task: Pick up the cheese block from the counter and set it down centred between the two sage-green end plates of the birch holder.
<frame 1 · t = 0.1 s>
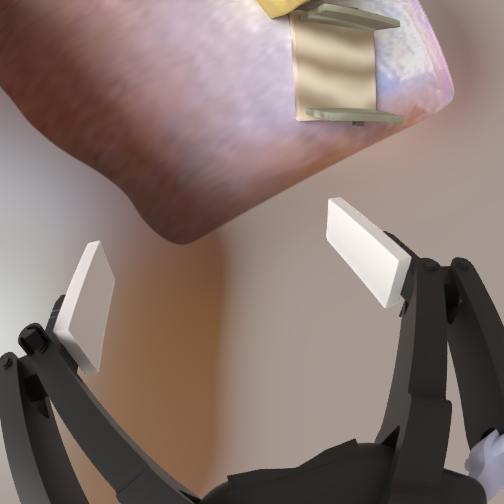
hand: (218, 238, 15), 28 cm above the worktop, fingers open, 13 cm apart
holder: (334, 66, 36), on the worktop
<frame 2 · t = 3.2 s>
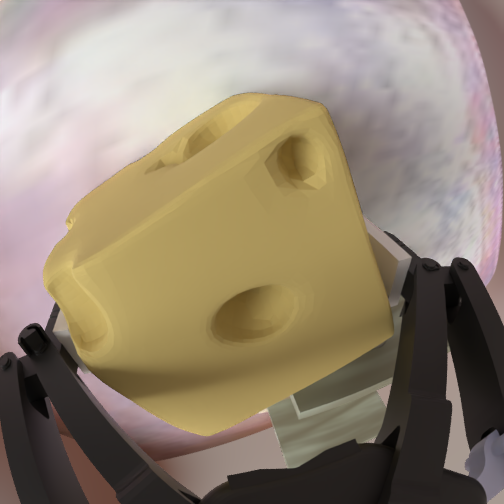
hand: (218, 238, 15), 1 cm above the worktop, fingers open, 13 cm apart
holder: (321, 341, 26), on the worktop
cheese: (206, 209, 16), on the worktop, touching gripper
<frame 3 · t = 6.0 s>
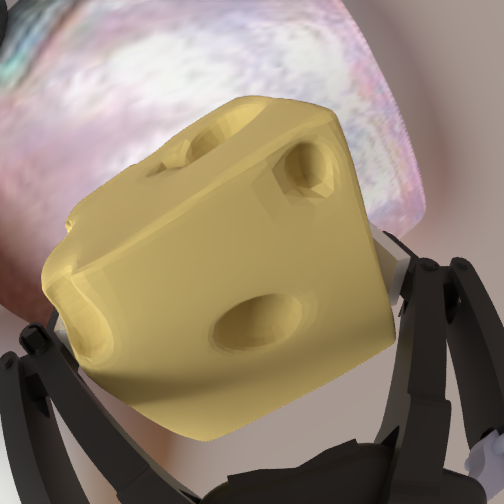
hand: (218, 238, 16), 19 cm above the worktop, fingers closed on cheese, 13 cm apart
cheese: (207, 212, 16), point 18 cm above the worktop, touching gripper
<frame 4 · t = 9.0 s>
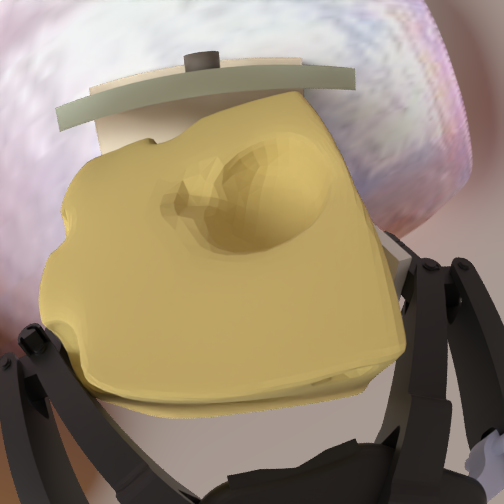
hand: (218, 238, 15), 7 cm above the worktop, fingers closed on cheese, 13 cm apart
holder: (209, 184, 21), on the worktop
cheese: (223, 196, 14), point 7 cm above the worktop, touching gripper, holder
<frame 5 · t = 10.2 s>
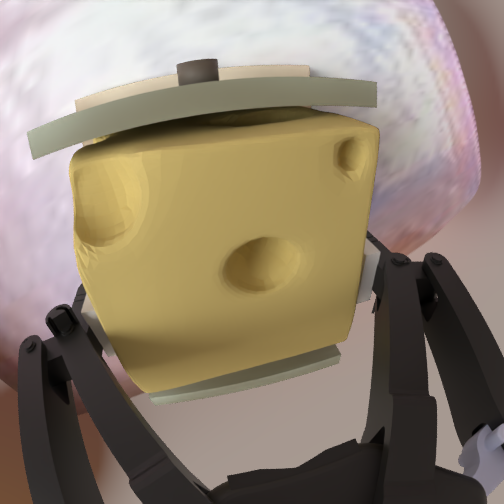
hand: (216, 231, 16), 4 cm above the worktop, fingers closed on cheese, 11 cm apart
holder: (207, 204, 19), on the worktop
cheese: (207, 187, 17), point 1 cm above the worktop, touching gripper, holder
when the fingers open (4 cm above the worktop, at t = 10.5 s): cheese stays where it is, resting on holder.
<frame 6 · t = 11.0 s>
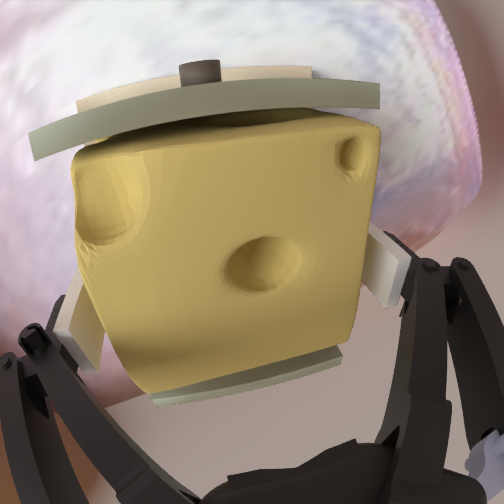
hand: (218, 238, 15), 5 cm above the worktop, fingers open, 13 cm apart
holder: (209, 205, 19), on the worktop
cheese: (209, 188, 17), point 1 cm above the worktop, touching holder
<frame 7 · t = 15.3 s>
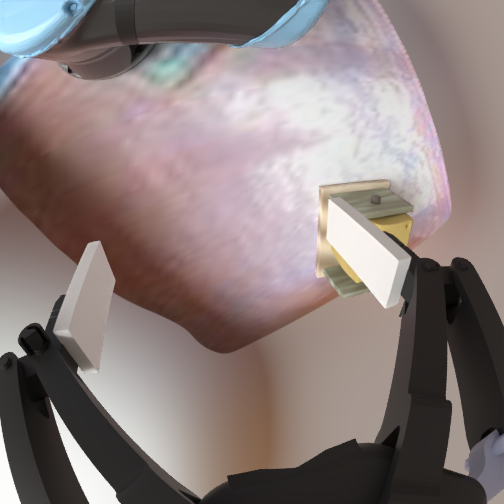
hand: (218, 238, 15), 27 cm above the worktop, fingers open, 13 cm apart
holder: (350, 227, 51), on the worktop
cheese: (355, 222, 49), point 1 cm above the worktop, touching holder
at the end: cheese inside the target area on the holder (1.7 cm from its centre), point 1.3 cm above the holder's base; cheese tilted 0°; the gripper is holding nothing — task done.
